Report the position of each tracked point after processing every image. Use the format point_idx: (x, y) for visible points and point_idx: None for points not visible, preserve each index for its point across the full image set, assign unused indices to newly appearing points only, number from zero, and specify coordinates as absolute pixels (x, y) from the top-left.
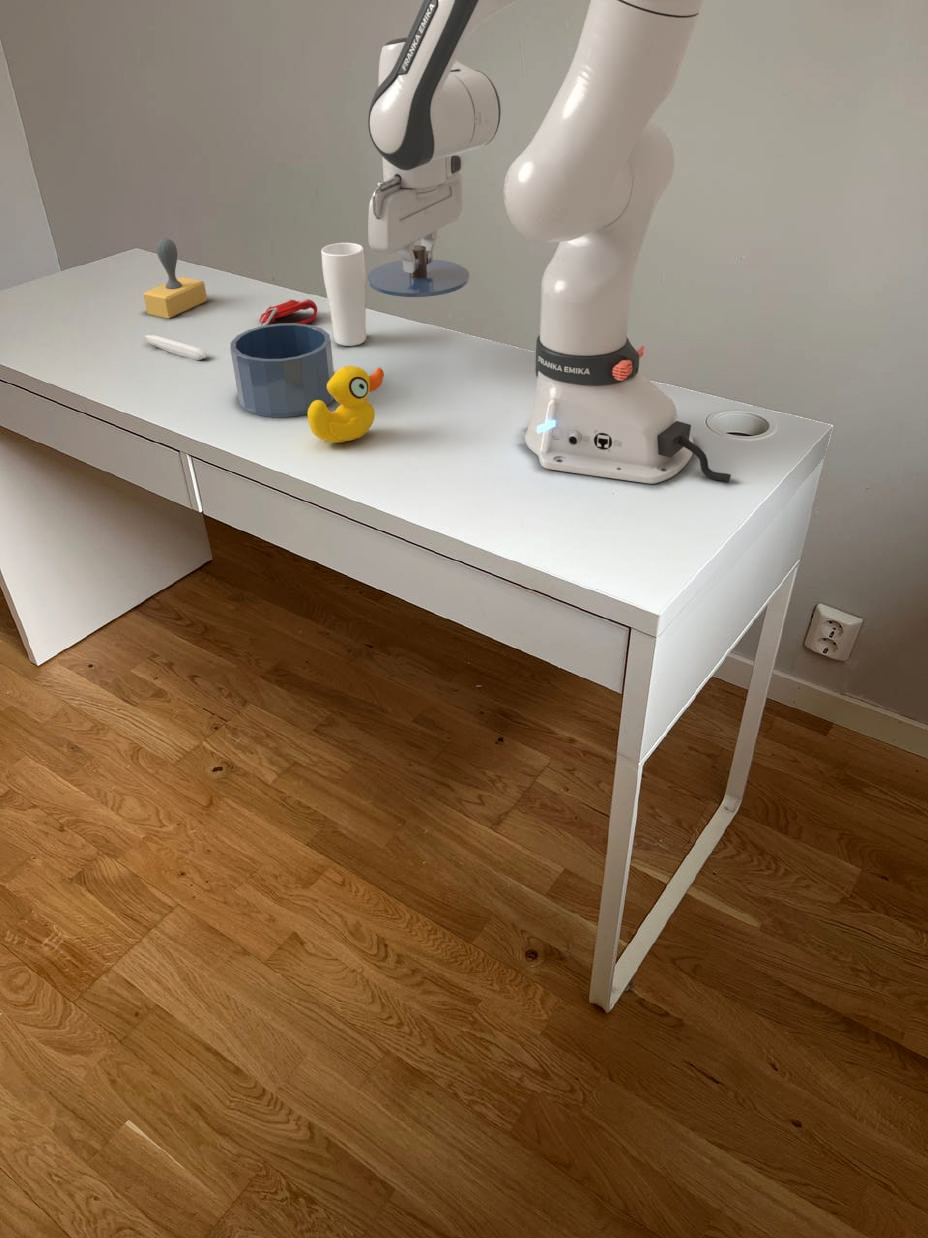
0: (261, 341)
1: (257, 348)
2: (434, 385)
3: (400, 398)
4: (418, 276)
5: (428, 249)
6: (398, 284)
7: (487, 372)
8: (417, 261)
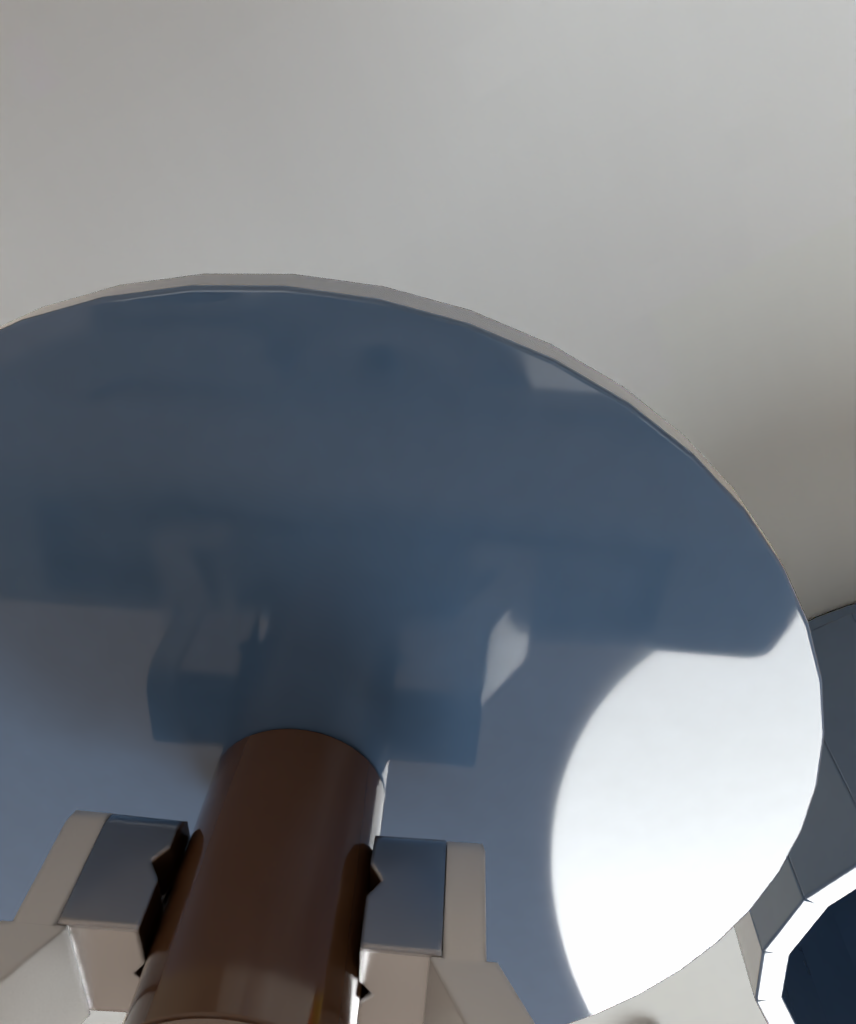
0: (840, 1007)
1: (850, 988)
2: (604, 237)
3: (817, 330)
4: (370, 774)
5: (54, 965)
6: (608, 834)
7: (305, 5)
8: (392, 920)
